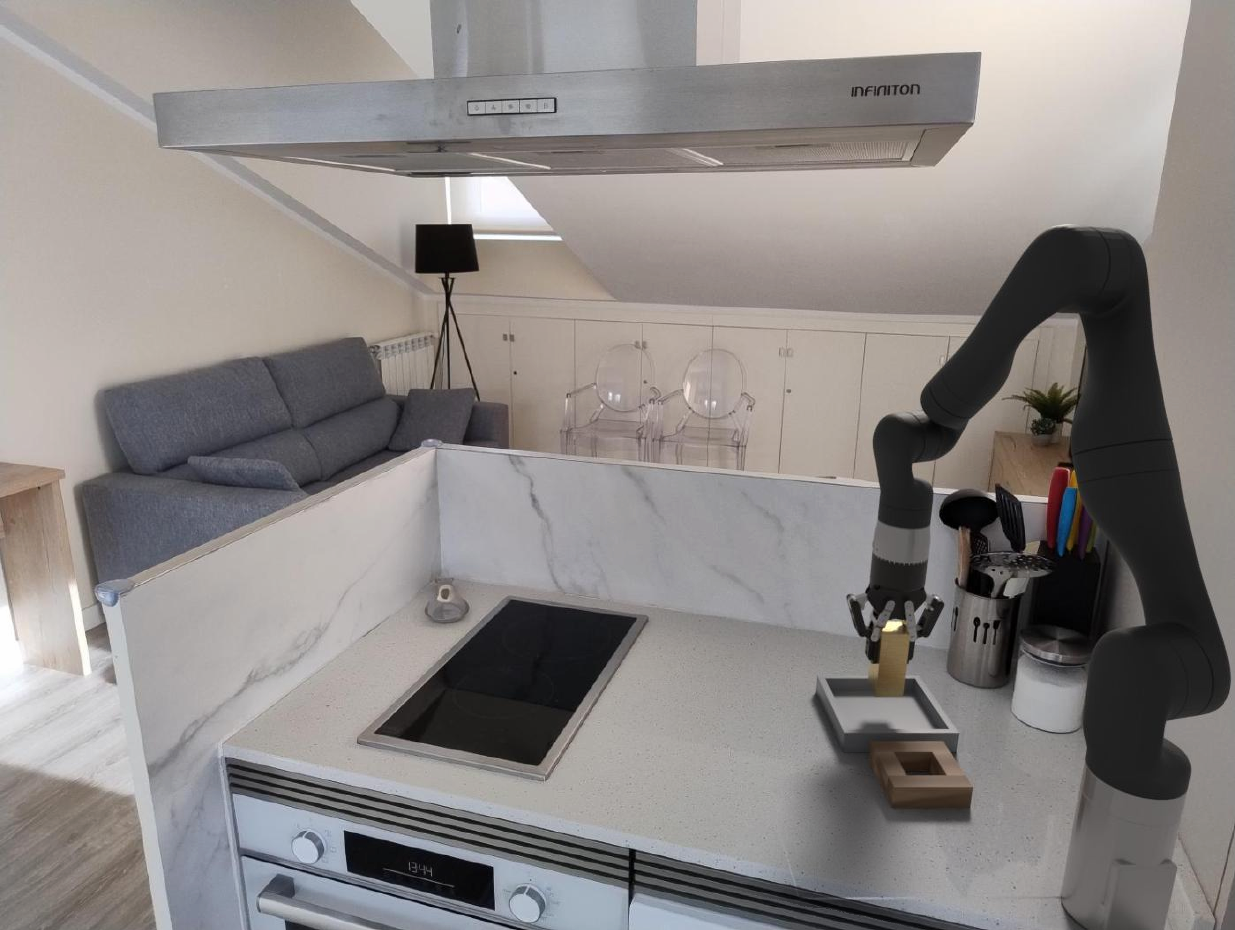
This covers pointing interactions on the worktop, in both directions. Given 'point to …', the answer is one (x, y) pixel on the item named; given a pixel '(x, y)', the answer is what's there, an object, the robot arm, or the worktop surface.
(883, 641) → the pin
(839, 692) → the parts tray
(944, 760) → the socket block
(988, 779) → the worktop surface
